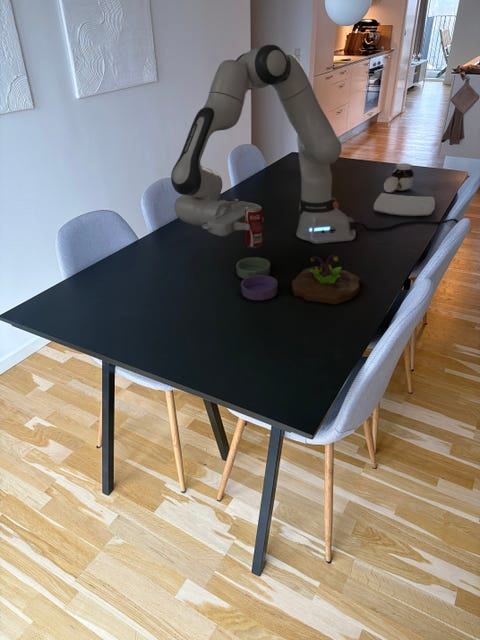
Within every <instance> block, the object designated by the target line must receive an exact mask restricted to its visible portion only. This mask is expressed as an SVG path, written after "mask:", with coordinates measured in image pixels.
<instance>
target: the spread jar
mask: <svg viewBox="0 0 480 640" xmlns="http://www.w3.org/2000/svg"><path fill="white" fill-rule="evenodd" d="M412 167H413V165H412V164H410V163H405V162H404V163H403V162H401V163H397V164H396V166H395V169H394V170H393V171H392V173H391V175H390V176H389V177H388V178H386V179H385V181H384V184H383V189H384V191H385V192H386V193H388V194H392V193H394V192H396V193H406V192H409V191H410V190H411V189H412V187H413V185H414V181H415V173H414V171H413V170H412Z"/></svg>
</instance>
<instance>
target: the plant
mask: <svg viewBox="0 0 480 640" xmlns="http://www.w3.org/2000/svg"><path fill="white" fill-rule="evenodd" d="M331 259H332V260H333V261H334V262H339V257H338V256H337V255H335V254H331V255H329V256H328V257H327V259H326V261H325V262H324V261H323V260H322V258H321V257H319V256H317V255H316V256H312V257H310V261H311V262H315V260H318V261H319V263H320V265H319V266H311V267H307V268H304V269H303V270H302V271H301V272H300V273H299V274H298V275H297V276H296V277H295V278H294V279H293V280H292V281H291V292H292V294H293V296H295V297H301V298H302V299H304V300H305V301H308V302H317V303H323V304H329V305H339V304H341V303H343V302H347V301H350V300H351V299H353V298H354V297H356V295H358V294H359V292H360V285H361V279H362V278H361V277H360V276H358V275H356V274H354V273H352V272H349V271H347V270H343V269H342V268H343V267H342V266H338V267H335V268H334V267H332V265H331V264H330V260H331Z"/></svg>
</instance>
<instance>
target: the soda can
mask: <svg viewBox="0 0 480 640" xmlns="http://www.w3.org/2000/svg"><path fill="white" fill-rule="evenodd" d="M263 214H264V213H263V209H262V206H261V205H259V204H257V205H249V206H247V207H246V210H245V223H246V222H248V223H251V224H252V228H251V229H250V230H244V231H245V246H246V247H247V248H249V249H254V250H255V249H260V248H262V247H263V245H264V221H263V217H264V216H263Z"/></svg>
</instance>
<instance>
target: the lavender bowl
mask: <svg viewBox="0 0 480 640" xmlns="http://www.w3.org/2000/svg"><path fill="white" fill-rule="evenodd" d="M240 292H241V295H242V296H243V297H244V298H246V299H247V300H250V301H251V300H252V301H265V300H269V299H272V298H274V297H275V296H276V295H277V294H278V280H277V279H276V278H274V277H273V276H270V275H268V276H266V275H254V276H250V277H247V278H245V279H242V281H241V282H240Z"/></svg>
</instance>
